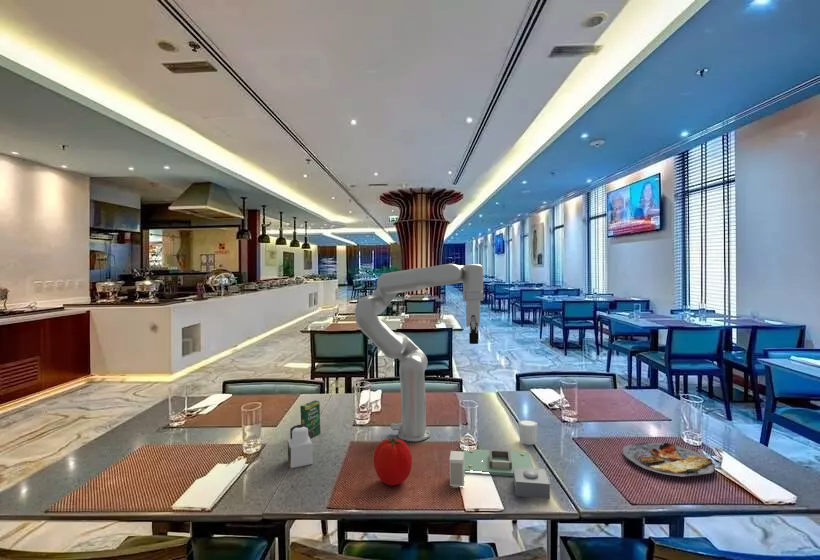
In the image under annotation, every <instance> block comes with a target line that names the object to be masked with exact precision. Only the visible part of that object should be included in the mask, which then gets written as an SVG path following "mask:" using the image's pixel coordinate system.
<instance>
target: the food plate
mask: <svg viewBox="0 0 820 560" xmlns="http://www.w3.org/2000/svg"><path fill="white" fill-rule="evenodd" d="M622 452H623V455H624V457H626V459H628V460H629V461H631V462H632V463H633V464H635V465H637V466H638V467H641V468H642V469H645V470H648V471H650V472H651V471H652V472H655V473H657V474H660V475H668V476H674V477H681V478H682V477H683V478H685V477H691V476H693V477H696V476H702V475H708V474H709V475H710V474H712V473H715V472H716V467H715V466H716V465H715V463H714V462H713V461H714V460H713V459H711V458H709V457H707V456H705V455H703V454H701V453H700V452H697V451H695V450H692V449H689V448H686V447H683V446H680V445H679V446H678V445H675V444H674V443H669V442H664V443H661V442H659V443H658V442H652V441H650V442H640V443H634V444H628V445H626V446H624V447H623V449H622ZM639 457H640V458H639ZM638 459H639V460H640V461H639V460H638ZM648 466H649V467H648Z"/></svg>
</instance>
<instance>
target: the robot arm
mask: <svg viewBox="0 0 820 560" xmlns="http://www.w3.org/2000/svg"><path fill="white" fill-rule="evenodd" d="M376 282H377V283H376V285H377V287H376V288H375V290H374V291H373V292H372V294H371V295H370V294H369V295H365V296H363V297H361V298H360V299H359V300H358V301H357V303H356V306H355V308H354V309H355V310H354V319H355V323H356V325H357V327H358V329H359V330H360V331H361V332H362V333H363V334H364V335H365V336H366V337H367V338H368V339H369V340H370V341H371V342H372V343H373V344H374V345H375V347H377V348H378V349H379V350H380V352H382V354H384V356H386V357H387V358H388V359H392V360H396V359H398V361H399V363H400V364H399V370H398V373H399V381H400V407H401V408H400V411H401V412H400V413H401V415H400V417H401V418H400V419H401V422H399V423H391V424H390V429H392V431H398V432H397V438H399V440H402V441H405V440H406V441H405V442H420V441H425V440H427V439H429V437H430V436H431V431H430V430H429V429H428V428H427V424H426V423H427V420H426V419H427V416H426V415H427V413H426V411H427V409H426V406H427V405H426V380H425V371H426V369H427V368H428V364H429V363H428V357H427V356H426V354H425V353H424V352H423V350H421V349H420V348H419V346H417V344H415V343H414V342H413V340H412V339H410V338H409V336H407V335H405V334H404V333H402V332H399V331H398V332H397V331H396V332H394V331H393V330H392V329H390V328H389V326H388V325H387V324H386V323H385V322H384V321H382V320H381V319H380V318H379V315H380V314H382V313H384V311H385V310H386V309H387V307H389V305H390V304H391V302H393V301H394V299H395V298H396V297H397V295H398V294H400V293H401V294H402V293H407V292H415V291H416V292H417V291H421V290H425V289H427V288H433V287H439V286H447V285H455V284H460V283H462V286H463V288H462V290H463V291H462V292H463V293H462V294H463V301H465V302H466V303H465V327H466V328H468V327H469V335H468V336H469V344H470V345H478V344H479V339H480V338H479V329H478V328H479V327H480V323H481V301H482V302H483V301H484V268H483V265H481V264H480V263H471V264H469V263H468V264H465V265H464V264H463V265H462V264H461V265H460V264H455V263H447V264H446V263H444V264H439V265H433V266H427V267H416V268H410V269H405V270H397V271H392V272H385V273H383V274H381V275H379V277H378V279H377V281H376Z"/></svg>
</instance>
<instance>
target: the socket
mask: <svg viewBox="0 0 820 560" xmlns="http://www.w3.org/2000/svg"><path fill="white" fill-rule="evenodd" d="M488 450H489V460H490V468H503V469H512V460H511V454H510V451H511V450H501V449H488ZM492 457H503V458H508V461H495V460H492Z"/></svg>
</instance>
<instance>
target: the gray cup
mask: <svg viewBox="0 0 820 560" xmlns="http://www.w3.org/2000/svg"><path fill="white" fill-rule="evenodd" d="M517 422H518V431H519V432H518V433H519V441H520V443H522V444H523V445H527V446H529V445H530V446H533V445H536V444H537V436H538V435H537V433H538V422H537V421H535V420H530V419H522V420H519V421H517Z"/></svg>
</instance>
